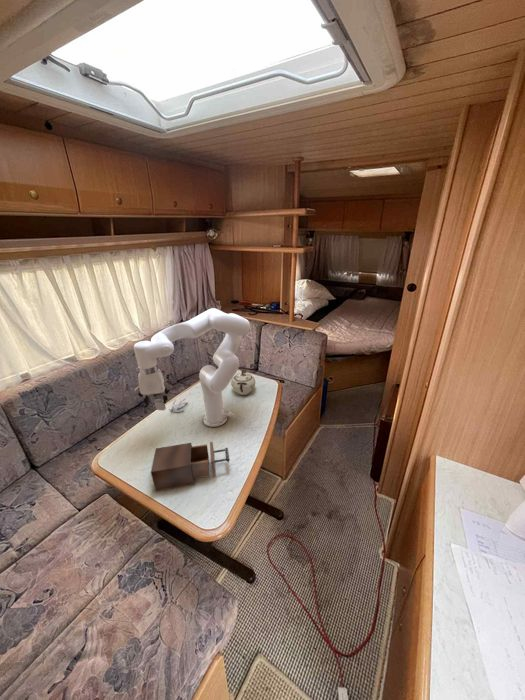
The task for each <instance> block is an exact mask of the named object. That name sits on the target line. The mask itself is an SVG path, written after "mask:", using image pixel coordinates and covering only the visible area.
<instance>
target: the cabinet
mask: <svg viewBox="0 0 525 700" xmlns="http://www.w3.org/2000/svg"><path fill="white" fill-rule="evenodd" d="M191 447H193V444H192V442H186V443H181V444H174V445H167V446H162V447H161V446H160V447H157V448H155V449H154V455H153V459H152V465H151V469H150V475H151V477H152V482H153V485H154V489H155V492H157V491H163V490H167V489H174V488H179V487H184V486H189V485H194V484H195V479H193V475H192V469H191Z"/></svg>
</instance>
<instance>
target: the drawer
mask: <svg viewBox="0 0 525 700" xmlns="http://www.w3.org/2000/svg"><path fill="white" fill-rule="evenodd" d="M209 451H210V452H209ZM222 452H224V454H225V458H221V459H216V457H215V453H222ZM209 453H210V454H209ZM209 455H210V456H209ZM229 461H230V453H229V448H228V447H225V448H223V449H218V450H217V449H216V450H215V448H214V441H209V449H208V444H207V443H205V444H200V445H192V447H191V469H192V475H193V479H194V480H195V479H200V478H205V477H210V466H211V475H212V478H216V477H217V473H216V463H220V462H229Z"/></svg>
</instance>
